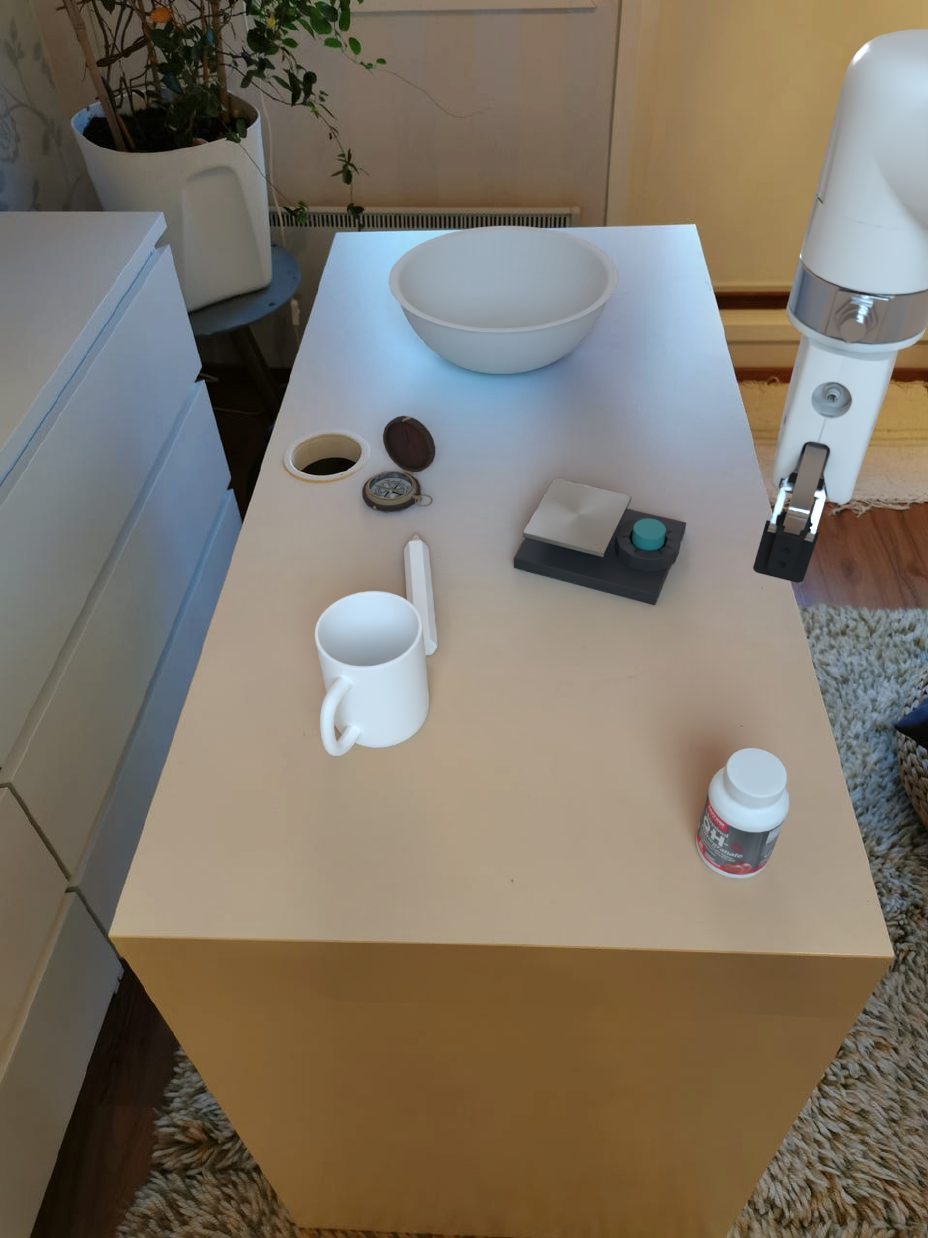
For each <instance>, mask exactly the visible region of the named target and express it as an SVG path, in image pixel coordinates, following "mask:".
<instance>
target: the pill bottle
mask: <svg viewBox="0 0 928 1238" xmlns="http://www.w3.org/2000/svg"><path fill="white" fill-rule="evenodd" d="M787 783H788V773H787V769H786V767H785V765H784V764H783V762H782V761H781V760H780V759H779V758H778V756H776V755H774V754H773V753H771V752H769V751H767V750H765V749H762V748H757V747H746V748H741V749H739V750H737V751H735V752H734V753H733V754H731V755H730V756H729V758H728V760H727V761H726V763H725V766H723V767H722V768H720V769H718V771H716V773H715V774H714V775H713V776H712V778H711V782H710V783H709V786H708V790H707V794H706V797H705V801H704V805H703V809H702V812H701V816H700V819H699V823H698V827H697V830H696V836H695V844H696V849H697V853H698V855H699V857H700V858H701V860H702V861H703V862H704V864H705V865H706V866H707V867H708V868H709V869H711V870H712V871H714V872H715V873H717V874H719V875H721V876H724V877H727V878H732V879H748V878H751V877H754V876H756V875H758V874H759V873H760V872H762V871H763V870H764V869H765V868H766V867H767V866H768V863H769V860H770V858H771V856H772V854H773V851H774V849H775V846H776V843H777V841H778V838H779V836H780V833H781V830H782V828H783V825H784V823H785V821H786V818H787V816H788V813H789V809H790V794H789V791H788V789H787Z"/></svg>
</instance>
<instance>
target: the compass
mask: <svg viewBox="0 0 928 1238" xmlns="http://www.w3.org/2000/svg"><path fill="white" fill-rule="evenodd" d="M382 443H383V445H384V449H385V452H386V453H387V455H388V457H389V458H390V459H391V461H392V462H393V463H394V464H395V465H396V466H398V467H399V468H400V469H402V470H401V471H398V470H387V471H383V472H380V473H377V474H376V475H373V476H372V477H369V479H367V481H366V482H365V483H364V484H363V486H362V491H361V494H362V499H363V501H364V503H365V504H366V505H367V506H368V507H369V508H371V509H374V510H376V511H380V512H383V513H394V512H400V511H404V510H406V509H408V508H410V507H411V506H413V505H415V504H416V505H417V506H419V507H428V506H430V505H431V504H432V503H433V502H434V501H433V498H432V496H431V495H429V494H422V493H421V489H422V488H421V483H420V482H419V480H418V479H417V478H416V477H415V476H414V473H421V472H422V471H425V470H426V469H428V468H429V467H430V466H431V465H432V463H433V462H434V460H435V457H436V444H435V440H434V438H433V436H432V434H431V432H430V431H429V430H428V428H427V427H426V426H425V425H424V424H423V423H422V422H421V421H420V420H418V419H416V418H414V417H412V416H410V415H409V416H408V415H399V416H396V417H394V418H393V419H391V420H390V421H389V422H387V424H386V425H385V426H384V429H383V432H382ZM422 497H428V498H429V499H430V501H429V503H427V504H420V503H418V502H421V501H422Z"/></svg>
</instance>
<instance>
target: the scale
mask: <svg viewBox="0 0 928 1238" xmlns="http://www.w3.org/2000/svg"><path fill="white" fill-rule="evenodd" d="M642 519H655V520H658V521H660V522H661V523H663V524H664V526H665V528H666V533H665V540H664V544H663V546H662V547H661V548H660V549H658V550H654V551H645V550H641V549H639V548H637V547H636V546H635V545H634V544H633V542H632V536H633V528H634V525H635V523H636V522H638V521H639V520H642ZM686 527H687V522H685V521H681V520H676V519H673V518H670V517H669V518H668V517H664V516H660V515H656V514H652V513H647V512H645V511H638V510H635V509H630V508H627V510H626V512H625V514H624V516H623V518H622V520H621V523H620V525H619V527H618V529H617V531H616V533H615V535H614V537H613V539H612V541H611V543H610V545H609V547H608V549H607V551H606V554H605V556H604V557H600V556H597V555H593V554H589V553H585V552H581V551H577V550H573V549H569V548H565V547H561V546H557V545H553V544H549V543H545V542H541V541H537V540H533V539H529V538H525V537H524V539H523V541H522V543H521V545H520V546H519V548H518V550H517V552H516V553H515V555H514V557H513V569H516V570H520V571H524V572H526V573H527V572H529V573H531V574H534V575H539V576H543V577H546V578H550V579H554V580H558V581H561V582H565V583H566V582H567V583H569V584H573V585H577V586H580V587H584V588H588V589H591V590H595V591H599V592H604V593H607V594H611V595H614V596H619V597H623V598H626V599H629V600H634V601H637V602H640V603H645V604H648V605H653V606H656V604H657V601H658V599H659V597H660V594H661V592H662V589H663V587H664V584H665V582H666V581H667V577H668V575H669V573H670V570H671V567H672V566H673V565H674V564H676V562H677V559H678V556H679V554H680V549H681V543H682V541H683V538H684V536H685V533H686V529H687V528H686Z"/></svg>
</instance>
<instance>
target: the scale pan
mask: <svg viewBox="0 0 928 1238" xmlns="http://www.w3.org/2000/svg"><path fill="white" fill-rule="evenodd" d="M632 497H633V496H632V495H630V494H626V493H621V492H617V491H612V490H609V489H604V488H600V487H595V486H591V485H587V484H582V483H577V482H573V481H569V480H564V479H561V478H557V477H554V478H553V480H552V482H551V484H550V485H549V487H548V489H547V491H546V493H544V495H543V497H542V499H541V501H540V502H539V504H538V506H537V507H536V509H535V511H534V513H533V514H532V516H531V518H530V519H529V521H528V523H527V525H526V526H525V527H524V530H523V532H522V537H523V538H524V539H525V538H529V539H533V540H537V541H541V542H545V543H549V544H553V545H557V546H561V547H565V548H569V549H573V550H577V551H581V552H585V553H589V554H593V555H597V556H600V557H604V556H605V554H606V551H607V549H608V547H609V545H610V543H611V541H612V539H613V537H614V535H615V533H616V531H617V529H618V527H619V525H620V523H621V520H622V518H623V516H624V514H625V512H626V510H627V509H629V506H630V504H631V502H632Z"/></svg>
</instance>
